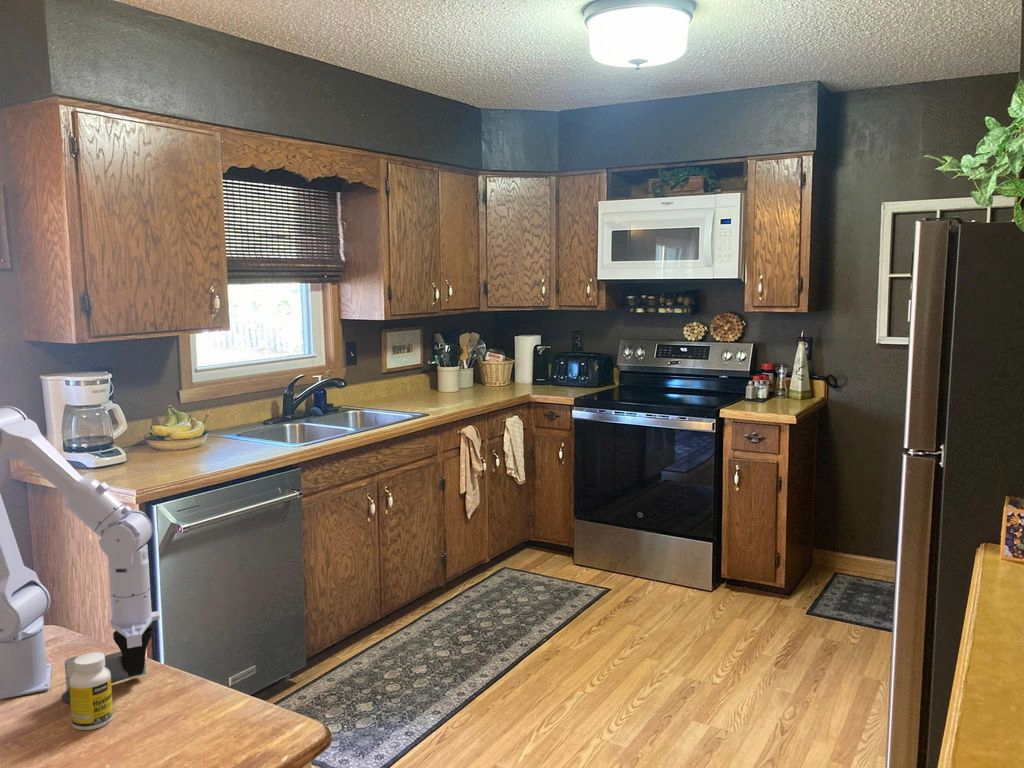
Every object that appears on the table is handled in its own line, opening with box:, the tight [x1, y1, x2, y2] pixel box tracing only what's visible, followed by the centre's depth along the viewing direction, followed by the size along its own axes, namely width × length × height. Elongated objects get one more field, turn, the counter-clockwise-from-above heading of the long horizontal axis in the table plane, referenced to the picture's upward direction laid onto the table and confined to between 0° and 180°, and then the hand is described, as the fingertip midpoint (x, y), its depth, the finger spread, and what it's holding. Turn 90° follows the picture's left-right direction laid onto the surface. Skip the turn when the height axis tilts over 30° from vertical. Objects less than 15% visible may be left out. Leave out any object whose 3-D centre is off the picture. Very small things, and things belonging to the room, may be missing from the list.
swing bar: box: [64, 650, 147, 696], centre depth 132 cm, size 11×3×5 cm, turn 131°
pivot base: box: [61, 690, 71, 705], centre depth 130 cm, size 4×4×1 cm
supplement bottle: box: [70, 651, 114, 731], centre depth 122 cm, size 5×5×10 cm
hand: (135, 673), depth 133 cm, fingers closed, pressing on swing bar
